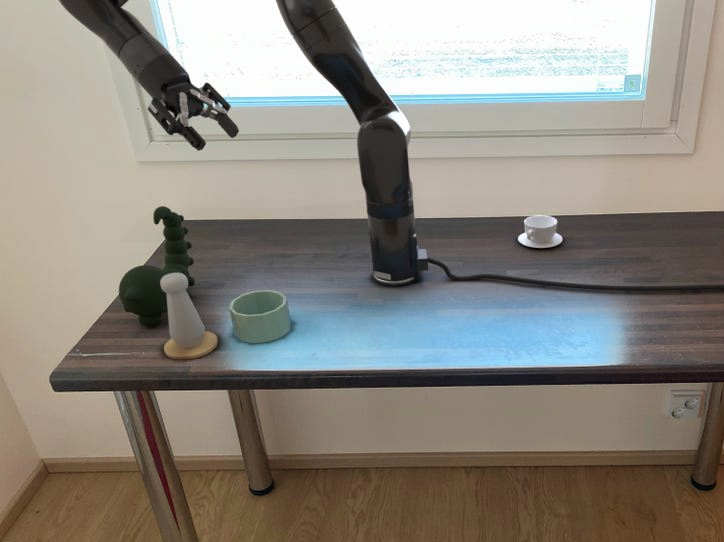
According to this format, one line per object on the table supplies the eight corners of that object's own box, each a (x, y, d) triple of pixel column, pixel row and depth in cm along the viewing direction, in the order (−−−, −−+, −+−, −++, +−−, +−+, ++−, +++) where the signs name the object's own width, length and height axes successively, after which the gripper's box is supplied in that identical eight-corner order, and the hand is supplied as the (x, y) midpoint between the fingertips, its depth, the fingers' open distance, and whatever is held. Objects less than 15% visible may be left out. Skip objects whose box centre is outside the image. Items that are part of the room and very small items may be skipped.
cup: (292, 314, 140) (288, 288, 137) (288, 340, 132) (283, 313, 129) (239, 318, 139) (233, 292, 136) (232, 345, 131) (225, 318, 128)
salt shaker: (204, 331, 134) (188, 265, 127) (210, 345, 129) (193, 278, 123) (170, 339, 132) (152, 273, 125) (175, 354, 127) (156, 286, 120)
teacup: (533, 229, 173) (533, 210, 171) (570, 238, 168) (571, 218, 166) (509, 243, 167) (509, 223, 164) (547, 253, 162) (548, 233, 159)
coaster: (221, 331, 135) (221, 328, 135) (213, 357, 127) (212, 354, 127) (170, 335, 134) (169, 332, 134) (159, 361, 126) (158, 358, 126)
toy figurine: (168, 289, 154) (110, 341, 131) (148, 199, 145) (82, 238, 123) (213, 289, 153) (162, 341, 131) (195, 199, 145) (138, 238, 122)
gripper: (130, 60, 121) (200, 137, 123) (191, 45, 132) (255, 117, 134) (115, 91, 125) (182, 165, 128) (176, 75, 136) (237, 143, 138)
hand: (219, 140), depth 131 cm, fingers open, 8 cm apart
